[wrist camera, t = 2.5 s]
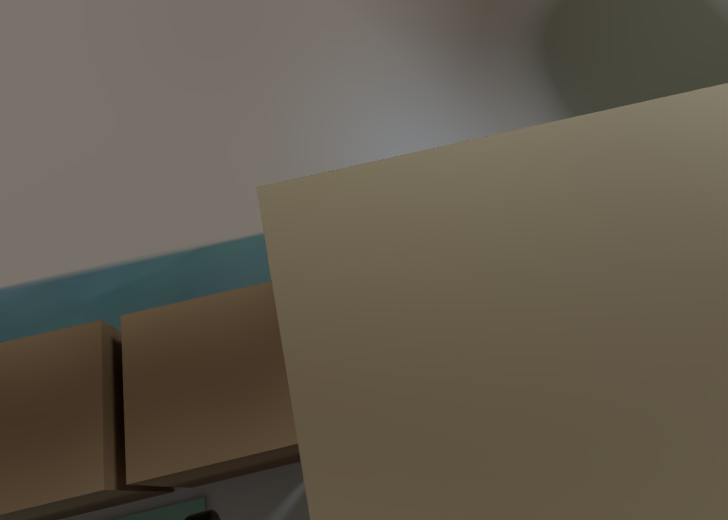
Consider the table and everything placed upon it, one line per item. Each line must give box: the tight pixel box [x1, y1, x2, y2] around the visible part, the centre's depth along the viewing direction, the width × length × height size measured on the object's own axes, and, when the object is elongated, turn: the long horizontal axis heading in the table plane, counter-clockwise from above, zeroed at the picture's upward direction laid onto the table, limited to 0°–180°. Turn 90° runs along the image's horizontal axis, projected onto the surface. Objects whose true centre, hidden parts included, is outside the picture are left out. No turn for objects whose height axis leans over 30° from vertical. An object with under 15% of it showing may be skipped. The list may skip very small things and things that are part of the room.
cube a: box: [0, 320, 174, 520], centre depth 14 cm, size 4×4×4 cm
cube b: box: [121, 281, 301, 488], centre depth 14 cm, size 4×4×4 cm
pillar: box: [257, 83, 728, 520], centre depth 9 cm, size 4×4×13 cm
